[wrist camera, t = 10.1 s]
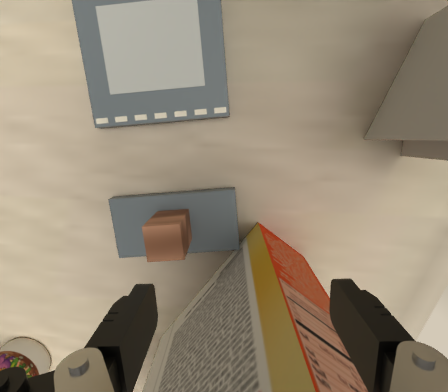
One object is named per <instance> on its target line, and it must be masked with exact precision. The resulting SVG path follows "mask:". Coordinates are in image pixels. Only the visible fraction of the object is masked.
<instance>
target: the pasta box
mask: <svg viewBox="0 0 448 392" xmlns="http://www.w3.org/2000/svg"><path fill="white" fill-rule="evenodd" d="M239 248H240V250H234V251H233V253H232V254H231V255H230V256H229V257H228V259H227V260H226V261H225V262H224V263H223V264H222V266H221V267H220V268H219V269H218V270H217V272H216V273H215V274H214V275H213V276H212V277H211V279H210V280H209V281H208V282H207V283H206V285H205V286H204V287H203V288H202V289H201V290H200V292H199V293H198V294H197V295H196V296H195V298H194V299H193V300H192V301H191V302H190V304H189V305H188V306H187V307H186V308H185V309H184V311H183V312H182V313H181V314H180V315H179V317H178V318H177V319H176V320H175V321H174V322H173V324H172V325H171V326H170V327H169V328H168V330H167V331H166V332H165V333H164V334H163V335H162V337H161V339H160V342H159V345H158V348H157V351H156V354H155V357H154V359H153V362H152V365H151V368H150V371H149V374H148V377H147V380H146V383H145V385H144V388H143V391H142V392H368V390H367V388H366V386H365V385H364V383H363V381H362V379H361V377H360V375H359V373H358V371H357V370H356V368H355V366H354V364H353V362H352V360H351V358H350V356H349V355H348V353H347V351H346V349H345V347H344V345H343V343H342V341H341V340H340V338H339V336H338V334H337V332H336V330H335V328H334V326H333V324H332V322H331V318H330V312H329V307H330V298H329V296H328V295H327V293H326V292H325V290H324V288H323V287H322V285H321V284H320V282H319V280H318V279H317V277H316V276H315V274H314V272H313V271H312V269H311V268H310V266H309V264H308V263H307V261H306V260H305V258H304V257H303V256H302V255H301V254H299V253H298V252H297V251H295V250H294V249H293V248H291V247H290V246H289V245H288V244H286V243H285V242H284V241H282V240H281V239H280V238H278V237H277V236H276V235H274V234H273V233H272V232H270V231H269V230H268V229H266V228H265V227H264V226H262V225H261V224H260V223H257V224H256V225H255V227H254V228H253V229H252V230H251V231H250V232H249V234H248V235H247V236H246V237H245V238H244V240H243V241H242V242H241V243H240V244H239Z"/></svg>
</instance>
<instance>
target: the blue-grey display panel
mask: <svg viewBox="0 0 448 392" xmlns="http://www.w3.org/2000/svg"><path fill="white" fill-rule="evenodd" d="M72 4H73V10H74V15H75V21H76V26H77V32H78V37H79V42H80V48H81V53H82V59H83V64H84V70H85V75H86V80H87V86H88V91H89V97H90V102H91V108H92V113H93V118H94V124H95V128H112V127H123V126H134V125H145V124H156V123H168V122H179V121H190V120H201V119H212V118H224V117H229V104H228V90H227V77H226V64H225V51H224V38H223V25H222V12H221V0H72Z"/></svg>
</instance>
